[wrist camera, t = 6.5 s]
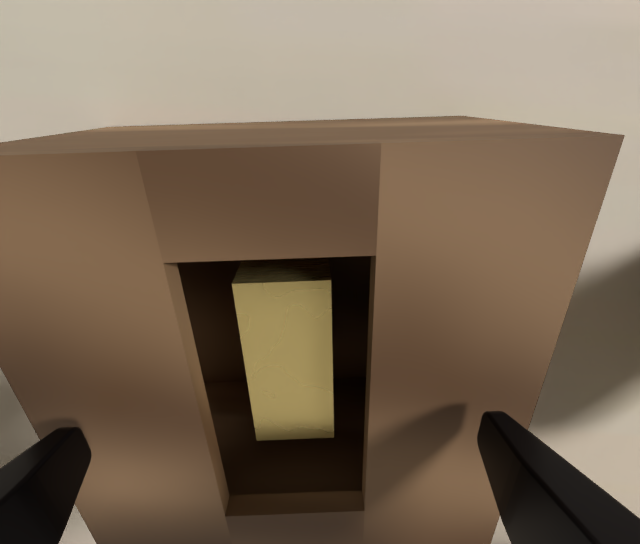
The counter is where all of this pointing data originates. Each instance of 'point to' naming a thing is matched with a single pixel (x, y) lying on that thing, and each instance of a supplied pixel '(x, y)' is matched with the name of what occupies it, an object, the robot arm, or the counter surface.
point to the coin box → (347, 314)
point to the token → (287, 345)
